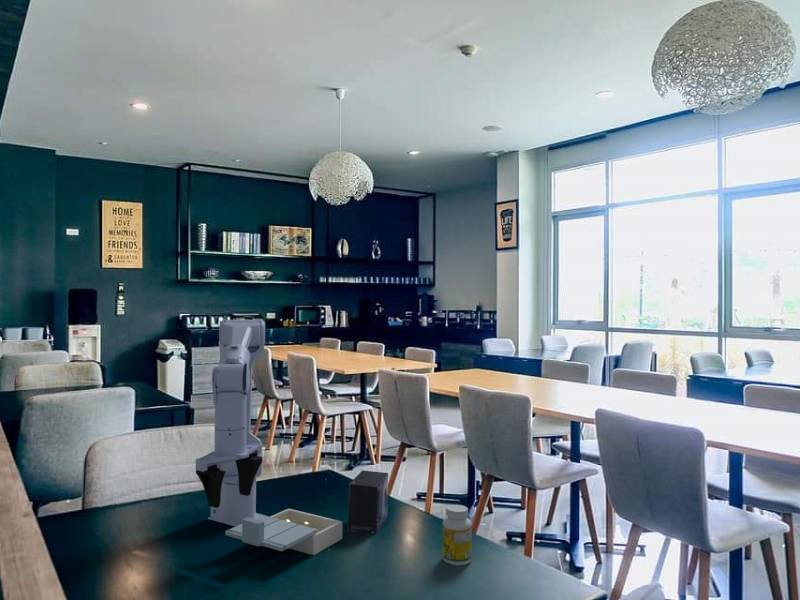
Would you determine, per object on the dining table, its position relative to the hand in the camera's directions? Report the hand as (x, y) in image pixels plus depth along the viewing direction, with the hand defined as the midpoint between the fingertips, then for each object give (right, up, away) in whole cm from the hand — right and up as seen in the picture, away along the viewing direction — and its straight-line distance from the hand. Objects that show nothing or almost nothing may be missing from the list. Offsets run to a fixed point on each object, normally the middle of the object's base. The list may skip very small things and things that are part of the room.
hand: (229, 500), depth 111 cm
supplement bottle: (+42, -11, -1) cm, 44 cm away
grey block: (+12, -11, +7) cm, 17 cm away
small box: (+25, -11, +15) cm, 31 cm away
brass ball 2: (+13, -10, +8) cm, 18 cm away
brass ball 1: (+9, -10, +9) cm, 16 cm away
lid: (+8, -6, -1) cm, 10 cm away
